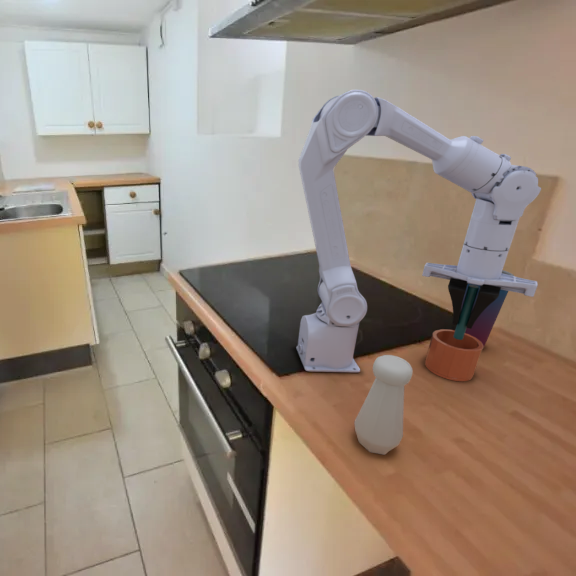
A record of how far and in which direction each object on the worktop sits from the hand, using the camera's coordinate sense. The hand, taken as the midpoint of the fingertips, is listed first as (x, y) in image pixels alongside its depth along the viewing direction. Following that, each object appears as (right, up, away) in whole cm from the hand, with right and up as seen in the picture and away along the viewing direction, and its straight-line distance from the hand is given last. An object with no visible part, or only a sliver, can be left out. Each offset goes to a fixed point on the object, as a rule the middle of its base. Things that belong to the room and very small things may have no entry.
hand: (462, 324), depth 63 cm
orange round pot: (0, -8, +3) cm, 9 cm away
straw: (0, -2, +1) cm, 3 cm away
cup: (+9, -5, +11) cm, 16 cm away
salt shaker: (-21, -15, -12) cm, 28 cm away
